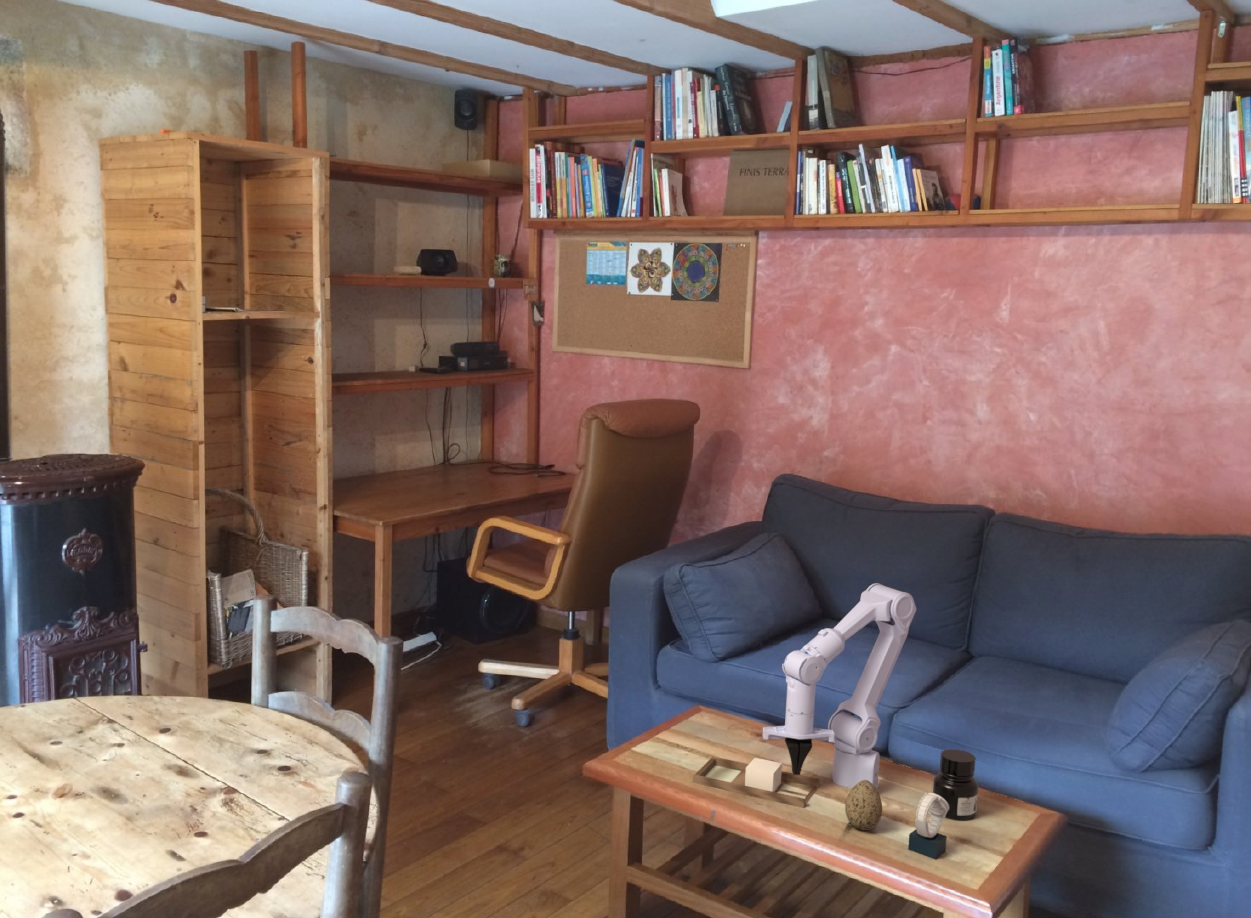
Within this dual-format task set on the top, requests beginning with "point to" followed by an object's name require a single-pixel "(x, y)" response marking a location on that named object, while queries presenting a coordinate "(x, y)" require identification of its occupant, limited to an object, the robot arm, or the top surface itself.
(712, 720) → the top surface
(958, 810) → the ink bottle
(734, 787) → the box
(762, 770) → the ivory block
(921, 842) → the watch
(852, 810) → the decorative egg
